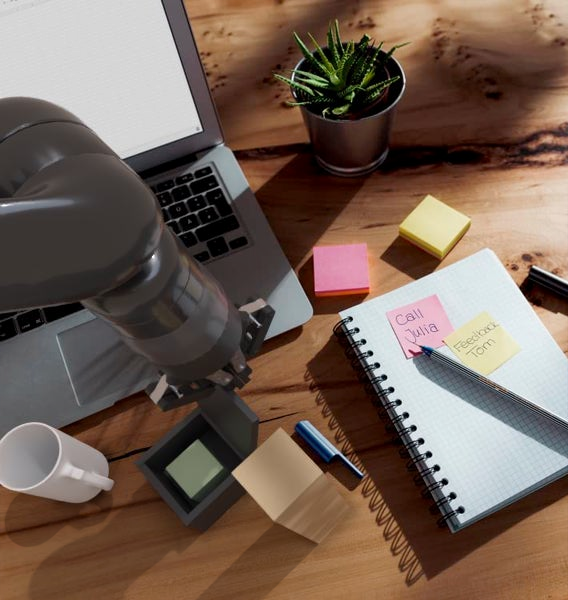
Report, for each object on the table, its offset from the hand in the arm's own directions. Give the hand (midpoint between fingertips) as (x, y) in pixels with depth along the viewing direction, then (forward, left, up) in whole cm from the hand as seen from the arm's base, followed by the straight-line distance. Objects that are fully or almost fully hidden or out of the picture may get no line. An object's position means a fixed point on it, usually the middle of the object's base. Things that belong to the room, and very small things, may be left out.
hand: (239, 378), depth 64 cm
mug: (-19, +9, -16) cm, 26 cm away
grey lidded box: (-9, 0, -16) cm, 18 cm away
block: (-10, 0, -15) cm, 18 cm away
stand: (-3, -12, -16) cm, 20 cm away
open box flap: (-3, 0, -4) cm, 5 cm away
